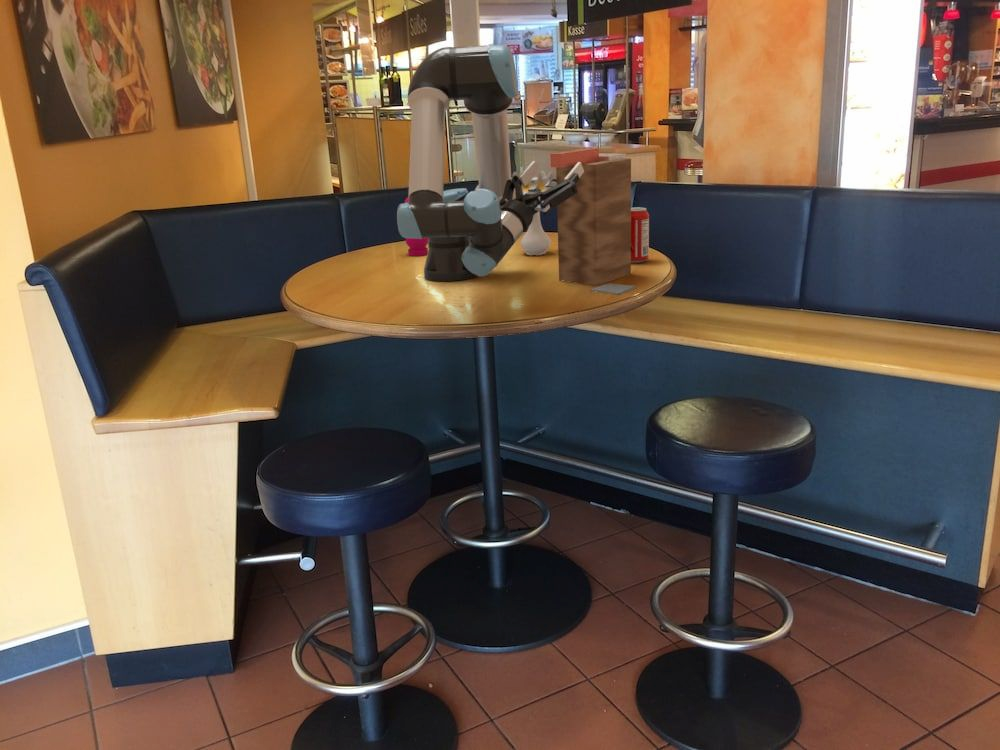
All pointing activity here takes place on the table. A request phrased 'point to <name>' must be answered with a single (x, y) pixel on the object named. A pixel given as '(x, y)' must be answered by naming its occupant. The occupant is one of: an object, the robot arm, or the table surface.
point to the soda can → (639, 235)
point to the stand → (596, 224)
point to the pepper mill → (416, 244)
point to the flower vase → (536, 216)
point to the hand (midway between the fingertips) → (558, 166)
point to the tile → (613, 288)
